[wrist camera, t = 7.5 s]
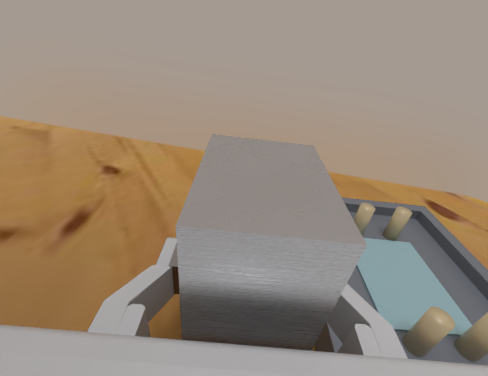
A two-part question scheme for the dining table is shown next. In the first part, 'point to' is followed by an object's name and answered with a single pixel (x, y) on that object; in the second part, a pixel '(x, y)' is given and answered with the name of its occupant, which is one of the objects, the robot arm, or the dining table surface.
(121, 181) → the dining table surface
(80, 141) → the dining table surface
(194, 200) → the block
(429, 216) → the pin tray
